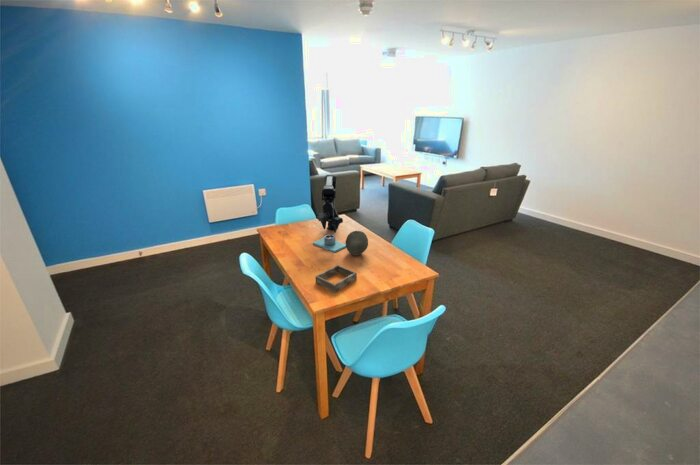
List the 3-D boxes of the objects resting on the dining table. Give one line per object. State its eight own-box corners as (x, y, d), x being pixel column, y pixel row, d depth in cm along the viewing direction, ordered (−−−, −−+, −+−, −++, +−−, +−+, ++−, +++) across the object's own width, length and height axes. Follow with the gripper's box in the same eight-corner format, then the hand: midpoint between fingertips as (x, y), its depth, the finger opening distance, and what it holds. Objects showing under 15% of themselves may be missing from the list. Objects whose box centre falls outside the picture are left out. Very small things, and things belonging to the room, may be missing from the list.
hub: (329, 240, 201) (329, 233, 199) (337, 243, 197) (337, 236, 195) (322, 243, 196) (322, 236, 194) (330, 246, 192) (329, 239, 190)
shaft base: (325, 238, 207) (325, 231, 205) (347, 246, 195) (347, 239, 193) (312, 244, 199) (312, 236, 197) (334, 252, 186) (334, 245, 185)
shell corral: (337, 271, 165) (337, 264, 163) (356, 279, 157) (356, 272, 155) (315, 283, 153) (315, 276, 152) (334, 292, 145) (334, 285, 144)
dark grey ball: (341, 256, 181) (340, 233, 176) (351, 247, 193) (351, 226, 187) (362, 261, 175) (362, 238, 170) (372, 252, 187) (372, 229, 181)
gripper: (309, 207, 187) (310, 230, 193) (330, 213, 176) (331, 238, 181) (322, 203, 195) (322, 226, 201) (343, 209, 183) (343, 233, 189)
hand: (329, 230), depth 193 cm, fingers open, 9 cm apart
